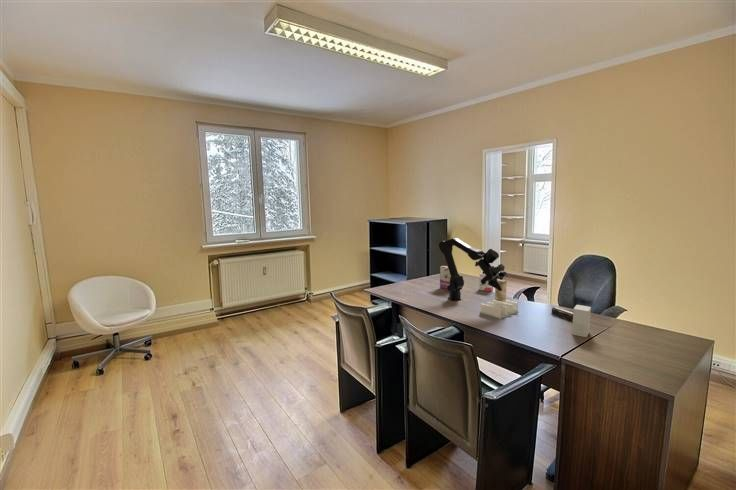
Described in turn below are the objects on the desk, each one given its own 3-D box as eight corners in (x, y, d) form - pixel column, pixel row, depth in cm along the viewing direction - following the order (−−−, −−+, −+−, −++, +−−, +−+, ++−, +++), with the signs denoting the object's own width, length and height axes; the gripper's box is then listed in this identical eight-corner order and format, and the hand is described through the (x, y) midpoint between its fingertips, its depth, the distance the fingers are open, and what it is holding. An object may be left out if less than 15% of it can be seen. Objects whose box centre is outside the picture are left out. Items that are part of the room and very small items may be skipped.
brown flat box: (574, 326, 180) (575, 318, 179) (534, 311, 203) (535, 304, 202) (593, 322, 185) (594, 314, 185) (552, 308, 208) (553, 301, 207)
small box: (574, 329, 175) (576, 304, 173) (589, 332, 171) (591, 306, 169) (571, 334, 169) (573, 308, 167) (586, 337, 165) (588, 311, 163)
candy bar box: (456, 289, 249) (457, 267, 247) (452, 291, 246) (453, 268, 243) (443, 287, 257) (443, 265, 255) (439, 288, 254) (439, 266, 251)
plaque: (494, 300, 201) (495, 280, 199) (497, 299, 203) (498, 279, 201) (502, 302, 197) (503, 281, 196) (505, 301, 199) (506, 280, 197)
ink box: (493, 290, 246) (493, 274, 244) (489, 291, 243) (489, 275, 241) (482, 288, 252) (483, 272, 251) (478, 289, 249) (479, 273, 248)
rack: (479, 312, 201) (480, 303, 200) (498, 306, 211) (498, 297, 211) (500, 319, 190) (500, 309, 190) (518, 312, 201) (518, 302, 200)
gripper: (485, 262, 194) (503, 285, 187) (504, 257, 205) (521, 279, 198) (473, 273, 202) (489, 296, 195) (492, 268, 213) (508, 290, 206)
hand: (502, 290), depth 198 cm, fingers closed on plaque, 3 cm apart
